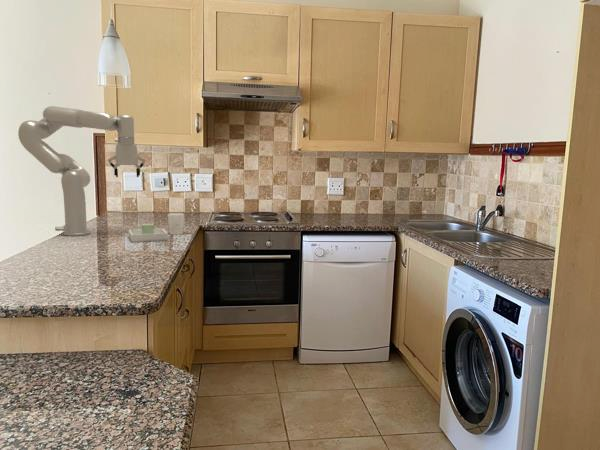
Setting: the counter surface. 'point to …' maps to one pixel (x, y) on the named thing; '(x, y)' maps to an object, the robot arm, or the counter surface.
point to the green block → (147, 228)
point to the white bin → (148, 235)
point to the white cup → (176, 223)
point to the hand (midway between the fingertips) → (127, 176)
